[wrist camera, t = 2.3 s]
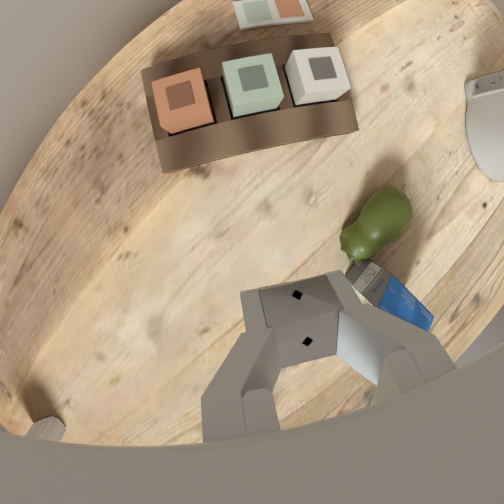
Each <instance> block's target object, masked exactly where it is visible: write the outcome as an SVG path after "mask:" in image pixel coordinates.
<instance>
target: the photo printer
mask: <svg viewBox="0 0 504 504" xmlns="http://www.w3.org/2000/svg"><path fill="white" fill-rule="evenodd" d="M65 431H66V428H65V425H64V424H63V423H62V421H61V420H59V419H58V418H56V417H54V416H50V417H47V418H44V419H42V420H39V421H37V422H35V423H34V424H33V425H32V426H31V427H30V429H29V430H28V432H27V434H26V435H25V437H30V438H36V439H42V440H49V441H57V442H60V440H61V438H62V437H63V435H64V433H65Z"/></svg>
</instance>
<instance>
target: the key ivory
mask: <svg viewBox="0 0 504 504" xmlns="http://www.w3.org/2000/svg"><path fill="white" fill-rule="evenodd" d="M285 70H286V73H287V77H288V80H289V84H290V87H291V91H292V94H293V98H294V102H295V105H299V104H306V103H313V102H320V101H328V100H335V99H337V98H338V97H340V96H341V95H342V94H344V93H345V92H346V91H348V90H349V89H351V86H350V83H349V80H348V76H347V73H346V70H345V67H344V64H343V61H342V58H341V55H340V52H339V49H338V47H325V48H312V49H301V50H293V51H292V53H291V55H290V57H289V59H288V61H287V63H286V65H285Z"/></svg>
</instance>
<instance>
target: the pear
mask: <svg viewBox="0 0 504 504" xmlns="http://www.w3.org/2000/svg"><path fill="white" fill-rule="evenodd" d="M411 217H412V206H411V203H410V201H409V199H408V198H407V196H406V195H405V194H404V193H403V192H401V191H400V190H398V189H396V188H393V187H384V188H381V189H379V190H377V191H376V192H375V193H374V194H372V196H371V197H370V198H369V199H368V200H367V202H366V203H365V204H364V206H363V208H362V210H361V213H360V215H359V217H358V218H357V220H356V221H355V222H354V223H353V224H350V225H347V226H346V227H344V229H343V230H342V234H341V236H340V243H341V250H343V251H344V252H346V254H347V256H348V258H349V260H350V261H351V260H354V261H355V263H356V262H357V263H358V262H360V260H362V259H365V260H366V259H368V258H370V257H372V256H373V255H375V254H376V253H377V251H378V250H379V249H380V248H381V247H383V246H385V245H387V244H390V243H392V242H393V241H395V240H396V239H398V238H399V237H400V236H401V235H402V233H403V232H404V231H405V229H406V228H407V226H408V225H409V223H410V220H411ZM352 257H353V258H352Z"/></svg>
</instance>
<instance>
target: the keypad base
mask: <svg viewBox="0 0 504 504" xmlns="http://www.w3.org/2000/svg"><path fill="white" fill-rule="evenodd" d="M325 47H334V44H333V41H332V38H331V35H330V33H323V34H308V35H296V36H287V37H278V38H270V39H263V40H257V41H251V42H245V43H240V44H234V45H229V46H225V47H220V48H215V49H211V50H207V51H203V52H199V53H195V54H191V55H187V56H184V57H180V58H177V59H173V60H170V61H167V62H163V63H160V64H157V65H154V66H151V67H148V68H145V69H142V70H141V74H142V79H143V84H144V90H145V95H146V100H147V105H148V110H149V114H150V119H151V124H152V128H153V133H154V137H155V142H156V146H157V150H158V155H159V159H160V163H161V167H162V171H163V173H173V172H176V171H179V170H183V169H186V168H190V167H194V166H197V165H201V164H205V163H208V162H212V161H216V160H220V159H224V158H228V157H232V156H236V155H240V154H245V153H249V152H253V151H258V150H262V149H267V148H271V147H276V146H281V145H286V144H291V143H296V142H302V141H307V140H313V139H318V138H324V137H330V136H337V135H343V134H349V133H352V132H355V131H358V130H359V128H358V124H357V120H356V116H355V112H354V108H353V105H352V101H351V97H350V94H349V90H348V91H346V92H345V93H344V94H342V95H341V96H340V97H338V98H337V99H335V100H328V101H320V102H313V103H306V104H299V105H295V102H294V98H293V94H292V91H291V87H290V84H289V80H288V77H287V73H286V70H285V65H286V63H287V61H288V59H289V57H290V55H291V53H292V51H293V50H301V49H312V48H325ZM270 53H272V57H273V60H274V63H275V67H276V70H277V74H278V77H279V81H280V84H281V88H282V91H283V95H284V97H283V99H282V101H281V102H280V104H279V106H278V107H277V108H276V109H270V110H265V111H260V112H255V113H250V114H246V115H241V116H237V117H233V113H232V109H231V105H230V101H229V97H228V94H227V90H226V86H225V82H224V77H223V68H222V62H226V61H231V60H235V59H241V58H246V57H251V56H257V55H263V54H270ZM197 68H200V70H201V73H202V76H203V79H204V83H205V87H206V91H207V95H208V99H209V103H210V107H211V111H212V115H213V119H214V122H212V123H208V124H204V125H200V126H197V127H193V128H190V129H186V130H183V131H179V132H176V133H172V134H171V133H169V132H168V131H166V130H165V129H164V128H162V127H161V126H160V122H159V117H158V112H157V108H156V103H155V98H154V93H153V88H152V83H151V82H153V81H156V80H159V79H162V78H165V77H169V76H172V75H175V74H179V73H182V72H186V71H189V70H193V69H197Z"/></svg>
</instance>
